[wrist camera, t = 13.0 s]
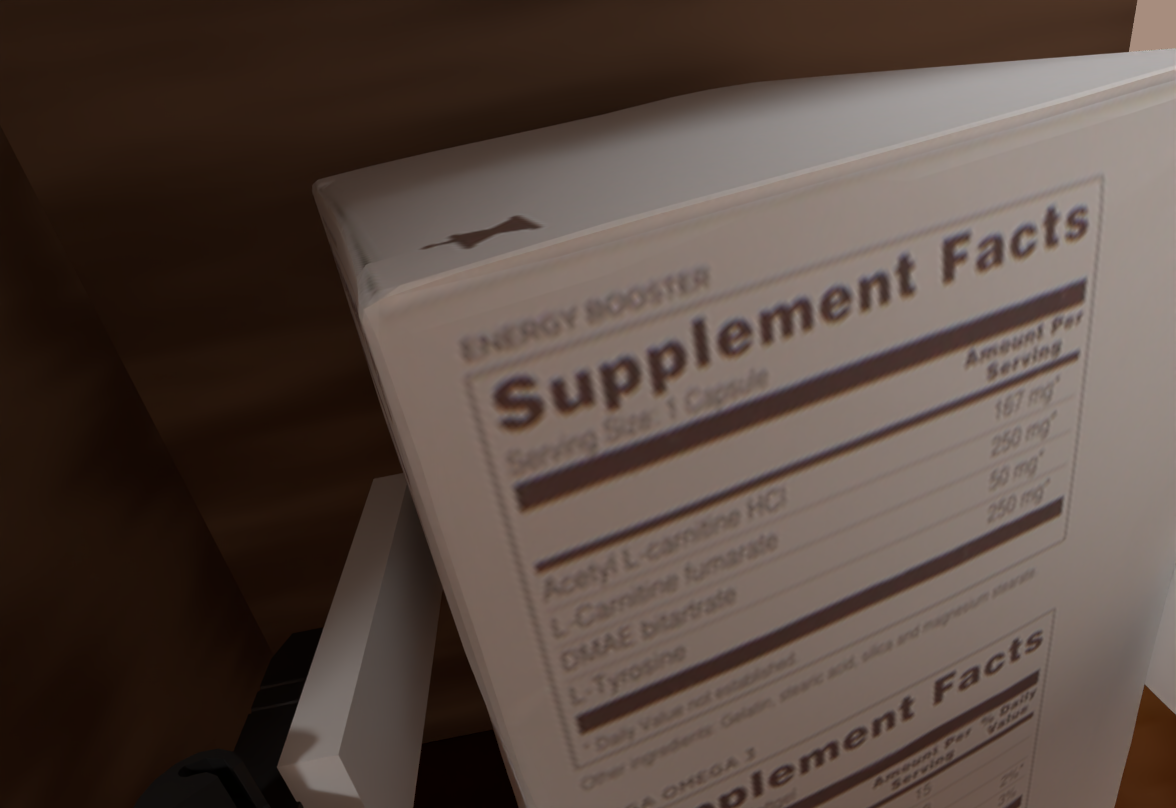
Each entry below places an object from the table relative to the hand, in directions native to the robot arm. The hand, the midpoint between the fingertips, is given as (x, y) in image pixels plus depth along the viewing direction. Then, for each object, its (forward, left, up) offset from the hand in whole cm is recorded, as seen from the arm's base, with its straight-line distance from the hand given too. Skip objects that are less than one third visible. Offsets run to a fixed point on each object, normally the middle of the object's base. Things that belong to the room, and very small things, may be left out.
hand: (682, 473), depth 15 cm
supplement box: (+2, -2, -10) cm, 10 cm away
